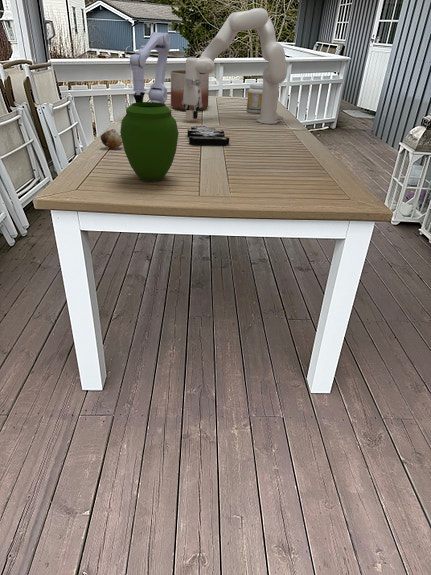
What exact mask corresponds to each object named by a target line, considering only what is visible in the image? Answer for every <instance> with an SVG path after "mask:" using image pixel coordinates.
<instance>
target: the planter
mask: <svg viewBox="0 0 431 575" xmlns="http://www.w3.org/2000/svg"><path fill="white" fill-rule="evenodd" d="M199 82H201V83H200V84H199V86H200V88H201V103H202V105H203V106H202V107H201V108H200V109H199V111H198V112H202V111H205V110H207V109H208V108H209V87H210V85H209V84H210V73H209V74H205V73H200V72H199ZM185 85H186V69H185V70H182V69H181V70H171V71H170V107H171V108H173V109H174V110H177V111H183V112H184V111H185V112H186V110H185V107H184V105H183V104H182V103H181V102H182V101H183V95H184V87H185ZM198 106H199V105H198ZM189 109H190V110H194V106H193V105H190V108H189Z"/></svg>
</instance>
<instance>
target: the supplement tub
mask: <svg viewBox="0 0 431 575" xmlns="http://www.w3.org/2000/svg"><path fill="white" fill-rule="evenodd" d="M262 92H263V83H250V84H249V88H248V90H247V102H246V111H247V112H248V113H250V114H251V113H252V114H260V113H261V102H262Z"/></svg>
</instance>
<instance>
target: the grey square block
mask: <svg viewBox="0 0 431 575" xmlns="http://www.w3.org/2000/svg"><path fill="white" fill-rule="evenodd" d="M193 112H194V110H187V111H185V119H189V120H194V119H193ZM197 119H198V117H197V118H196V119H195V120H197Z"/></svg>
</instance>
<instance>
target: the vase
mask: <svg viewBox="0 0 431 575" xmlns="http://www.w3.org/2000/svg"><path fill="white" fill-rule="evenodd" d="M125 113H126V114H125V115H124V117H122V119H121V122H120V123H121V124H120V130H119V133H120V134H119V135H120V136H121V138H122V142H123V143H122V147H123V150H124V154H125V155H126V158H127V160H128V163H129V165H130V167H131V168H132V170H133V172H134V173H135V175H136V176H137V177H138V178H139V179H141V180H143V181H145V182H159V181H161V180H163V179H164V178H165V176H166V175H167V174H168V173H169V170H170V169H171V167H172V165H173V162H174V159H175V157H176V156H175V155H176V153H177V147H178V140H179V129H178V122H177V120H176V119H175V117H174V116H173V115H172V109H171V108H170V107H169V106H167V105H166V103H165V104H162V103H156V102H151V101H143V102H137V103H136V102H132V103H131V104H130V105H128V107H127V108H125Z"/></svg>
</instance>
